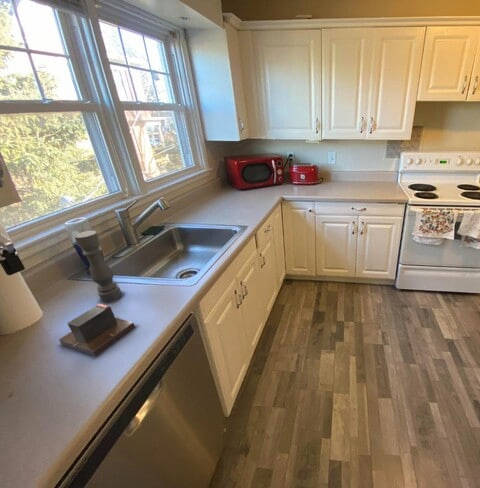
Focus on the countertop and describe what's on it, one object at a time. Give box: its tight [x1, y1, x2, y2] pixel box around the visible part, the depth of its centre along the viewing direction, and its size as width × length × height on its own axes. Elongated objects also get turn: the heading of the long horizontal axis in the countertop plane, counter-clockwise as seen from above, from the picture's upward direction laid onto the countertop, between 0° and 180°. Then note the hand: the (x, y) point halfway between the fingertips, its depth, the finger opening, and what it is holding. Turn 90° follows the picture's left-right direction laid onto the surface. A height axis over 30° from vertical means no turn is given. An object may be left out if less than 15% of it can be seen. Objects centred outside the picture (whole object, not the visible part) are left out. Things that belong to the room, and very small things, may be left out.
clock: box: [67, 303, 117, 343], centre depth 81 cm, size 9×4×6 cm, turn 161°
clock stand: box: [58, 315, 136, 357], centre depth 83 cm, size 14×13×2 cm
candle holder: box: [73, 230, 123, 304], centre depth 95 cm, size 6×6×25 cm
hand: (3, 269), depth 68 cm, fingers open, 9 cm apart
